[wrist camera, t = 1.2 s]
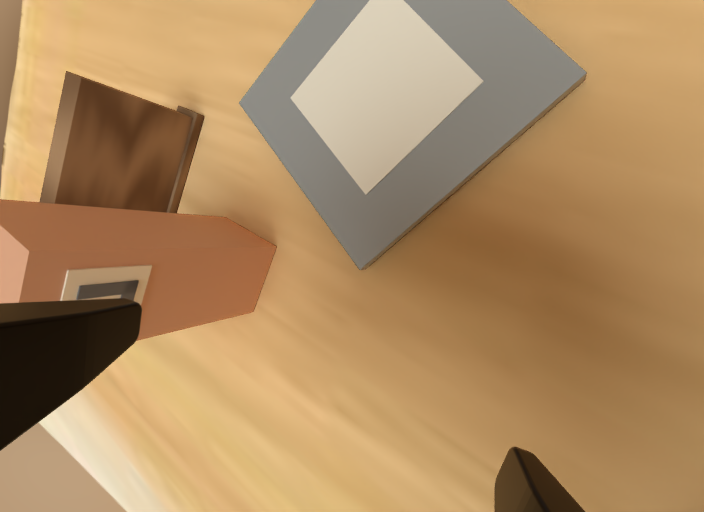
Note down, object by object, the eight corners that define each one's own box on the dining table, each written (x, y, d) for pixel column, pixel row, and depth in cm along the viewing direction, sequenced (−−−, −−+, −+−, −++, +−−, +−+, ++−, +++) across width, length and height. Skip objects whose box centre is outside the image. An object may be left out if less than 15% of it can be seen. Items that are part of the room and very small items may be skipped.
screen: (184, 108, 28) (64, 62, 21) (204, 116, 27) (85, 71, 20) (130, 302, 32) (13, 319, 25) (146, 315, 31) (28, 337, 24)
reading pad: (584, 80, 17) (587, 71, 16) (365, 269, 22) (358, 270, 21) (398, -91, 20) (392, -104, 20) (247, 106, 25) (237, 102, 25)
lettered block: (278, 247, 25) (31, 253, 13) (254, 313, 26) (7, 375, 14) (225, 217, 27) (-32, 197, 15) (205, 279, 28) (-49, 307, 16)
